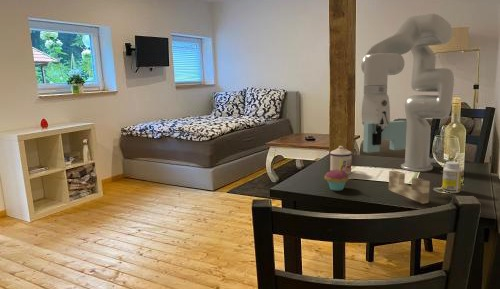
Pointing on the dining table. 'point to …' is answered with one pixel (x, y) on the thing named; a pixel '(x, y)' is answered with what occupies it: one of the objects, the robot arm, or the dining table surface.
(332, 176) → the cupcake
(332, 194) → the dining table surface
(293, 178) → the dining table surface
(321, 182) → the dining table surface
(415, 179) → the birch slotted plate
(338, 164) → the teacup with lid
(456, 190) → the supplement bottle
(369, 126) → the teal slotted plate
